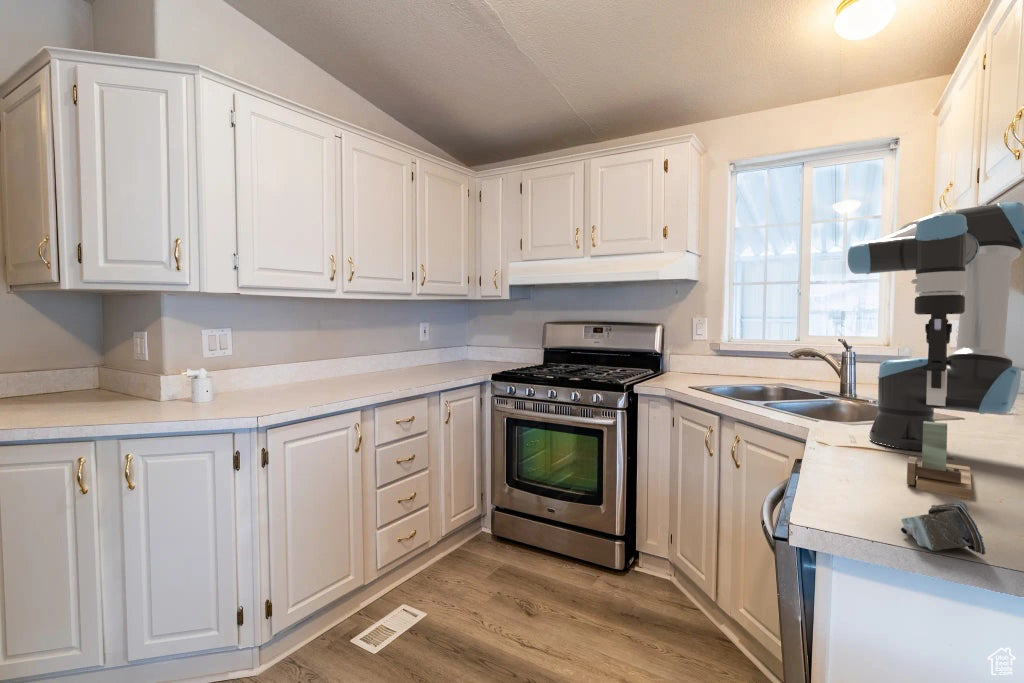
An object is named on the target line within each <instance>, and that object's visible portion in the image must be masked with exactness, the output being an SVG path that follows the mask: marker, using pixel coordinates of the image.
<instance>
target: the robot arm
mask: <svg viewBox="0 0 1024 683" xmlns="http://www.w3.org/2000/svg"><path fill="white" fill-rule="evenodd" d="M1022 249H1024V204H1023V203H1022V202H1020V201H1013V202H1012V201H1011V202H1010V201H1009V202H1002V203H1000V202H997V203H995V204H994V203H993V204H988V205H987V204H986V205H980V206H974V207H968V208H960V209H954V210H953V209H952V210H946V211H939V212H935V213H933V214H930V215H926V216H924V217H921V218H918V219H916V220H912V221H910V222H909V223H906V224H904V225H903V226H902V227H901V228H900V229H899V230H898V231H896V232H894V233H891V234H889V235H886V236H884V237H882V238H878V239H876V240H870V241H869V240H865V241H861V242H856V243H852V244H851V245H850V247H849V249H848V252H847V265H848V268H849V270H850V272H851V273H852V274H855V275H861V274H862V275H863V274H866V275H870V274H877V273H878V274H879V273H890V272H900V271H915V278H913V279H911V282H910V283H911V284H913V285H915V284H916V285H915V286H914V288H915V289H914V291H915V294H919V295H918V296H916V297H915V298H914V314H915V315H930V319H929V320H928V323H925V326H924V328H925V329H924V330H925V331H924V332H925V334H926V335H925V336H926V338H925V340H926V344H928V349H927V351H928V352H927V357H917V358H904V359H903V358H900V359H890V360H884V361H882V362H881V363H880V365H879V367H878V369H879V370H878V376H877V379H878V385H877V386H878V387H877V389H878V390H877V391H878V392H877V393H878V394H877V396H878V398H877V406H878V407H877V413H876V414H877V415H876V416H875V419H874V421H873V424H872V426H871V428H870V430H869V438H870V439H871V440H872V441H874V442H877V443H882V444H886V445H890V446H894V447H898V448H897V449H900V448H903V449H902V450H908V449H912V450H911V451H919V450H921V452H922V446H923V422H924V421H927V422H935V421H936V420H935V416H934V415H935V412H934V411H935V409H937V410H946V411H947V410H948V411H957V412H964V413H965V412H967V413H975V414H976V413H977V414H980V415H985V414H987V415H1005V414H1008V413H1009V412H1010V411H1011V410H1012V408H1013V407H1014V405H1015V402H1016V400H1017V397H1018V393H1019V391H1020V386H1021V385H1020V384H1021V377H1022V373H1021V372H1022V371H1021V369H1020V368H1019V367H1017V366H1016V365H1015V366H1013V359H1012V358H1011V357H1009V356H1008V355H1007V354H1005V347H1006V337H1007V336H1006V333H1007V320H1008V310H1009V297H1010V286H1011V285H1010V283H1011V272H1012V262H1013V261H1015V260H1016V259H1018V258H1019V257H1021V255H1022ZM948 315H959V317H958V326H957V327H958V329H957V339H956V348H955V351H954V352H952V353H950V354H948V352H947V350H948V348H947V347H948V345H949V344H950V342H951V333H952V332H953V331H952V330H953V323H949V319H948V318H947V316H948ZM869 438H868V439H869Z"/></svg>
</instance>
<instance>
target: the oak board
mask: <svg viewBox="0 0 1024 683" xmlns="http://www.w3.org/2000/svg"><path fill="white" fill-rule="evenodd" d="M920 464H921V465H922V461H921V462H920ZM946 468H948V469H954V468H958V469H959V470H961V483H956V482H950V481H943V480H937V479H931V478H925V477H919V476H916V482H915V488H916V489H915V490H921V491H925V492H930V493H936V494H941V495H948V496H953V497H958V498H963V499H969V500H972V494H973V493H972V491H973V490H972V479H971V478H972V477H971V467H970V466H966V465H960V464H959V465H958V464H951V463H946Z"/></svg>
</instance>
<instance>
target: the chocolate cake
mask: <svg viewBox="0 0 1024 683" xmlns="http://www.w3.org/2000/svg"><path fill="white" fill-rule="evenodd" d="M900 520H901V523H902V524H903V527H901V528H900V531H901V532H902V533H903V534H906V535H911V536H912V537H913V538H914V539H915V541H916V543H917V545H918V546H919V547H925V548H928V549H929V550H931V551H932V552H936V551H942V550H951V549H958V548H966V547H967V548H968V549H969V550H971V551H972V552H975V553H979V554H980V555H982V556H984V555H986V547H985V543H984V541H983V538H984V537H983V536H982V535H981V533H980V531H979V528H978V525H977V524H976V523H975V520H974V519H973V518H972V517H971V514H970V513H969V509H968V507H967V505H966V503H964V502H963V501H961V502H951V503H945V504H942V503H941V504H938V505H937V504H932V505H931V506H930V508H929V509H928V513H927V514H922V515H921V514H920V515H915V516H909V517H906V518H901V519H900Z"/></svg>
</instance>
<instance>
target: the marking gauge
mask: <svg viewBox="0 0 1024 683" xmlns="http://www.w3.org/2000/svg"><path fill="white" fill-rule="evenodd" d="M947 443H948V423H947V422H945V423H944V422H927V421H924V422H923V446H922V451H921V453H922V454H921V456H922V457H921V462H922V465H921V463H920V464H919V463H918V458H917V457H913V456H909V457H908V460H907V464H906V472H907V473H906V484H907V485H911V486H916V480H917V477H918V476H919V477H925V478H931V479H937V480H943V481H950V482H956V483H961V470H959V469H958V468H954V469H948V468H946V464H947V453H948V448H947V447H948V444H947Z"/></svg>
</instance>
